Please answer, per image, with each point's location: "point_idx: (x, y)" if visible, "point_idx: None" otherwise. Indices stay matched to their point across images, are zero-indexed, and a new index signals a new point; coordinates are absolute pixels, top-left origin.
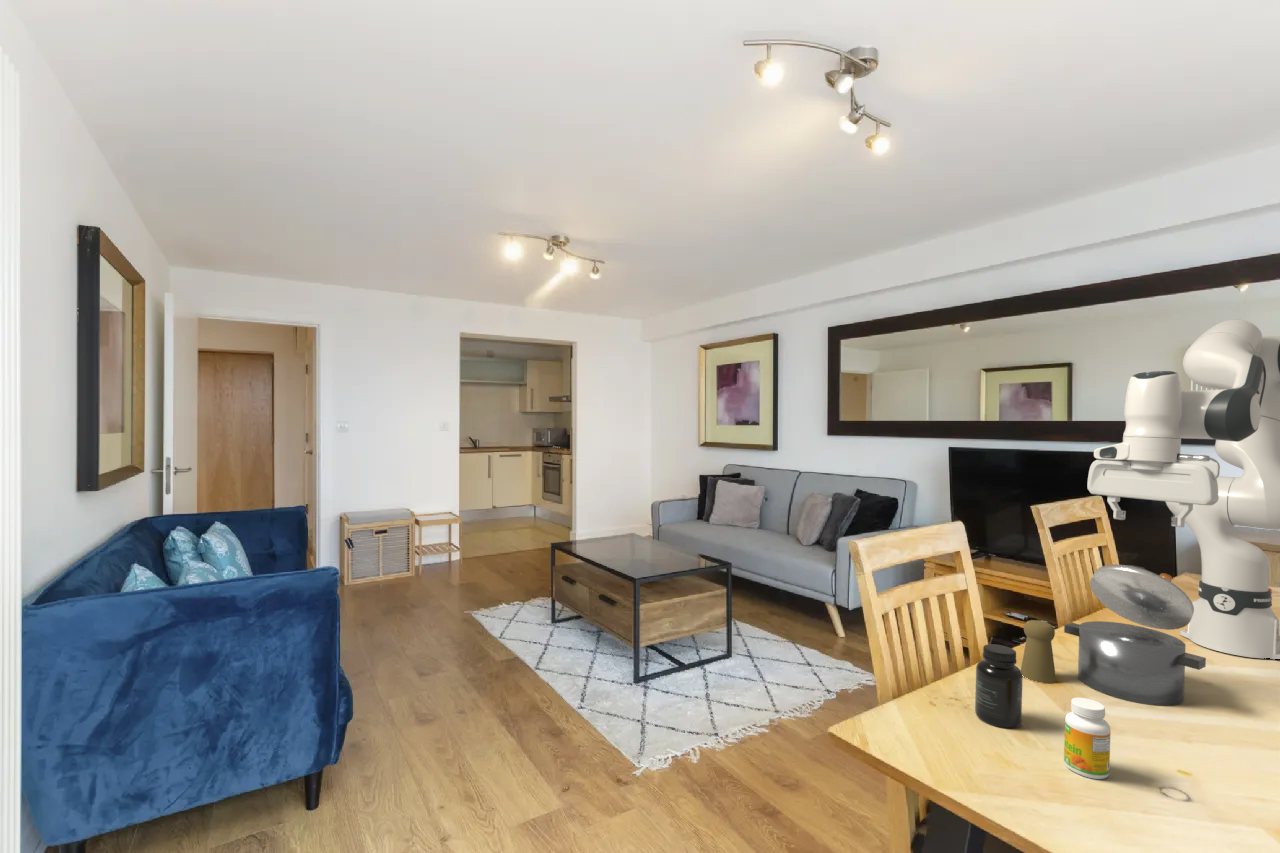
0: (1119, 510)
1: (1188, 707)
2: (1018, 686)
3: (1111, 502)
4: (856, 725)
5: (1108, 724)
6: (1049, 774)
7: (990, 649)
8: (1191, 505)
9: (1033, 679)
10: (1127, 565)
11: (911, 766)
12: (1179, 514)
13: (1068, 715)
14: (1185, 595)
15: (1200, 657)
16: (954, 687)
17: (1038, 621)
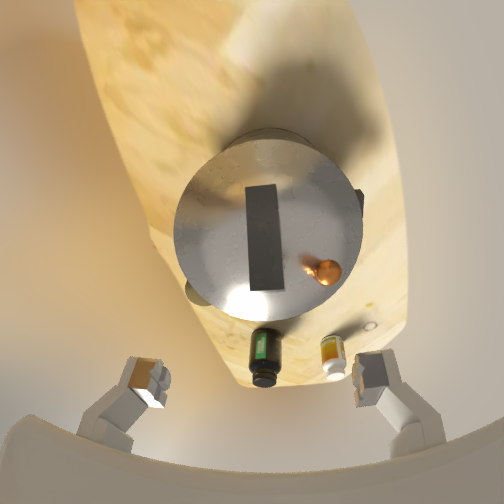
0: (134, 393)
1: None
2: (281, 362)
3: (123, 431)
4: (240, 380)
5: (345, 364)
6: (321, 355)
7: (262, 386)
8: (436, 440)
9: None
10: (265, 320)
11: (282, 383)
12: (386, 416)
13: (326, 371)
14: (360, 247)
15: (359, 200)
16: (212, 323)
17: (198, 297)
